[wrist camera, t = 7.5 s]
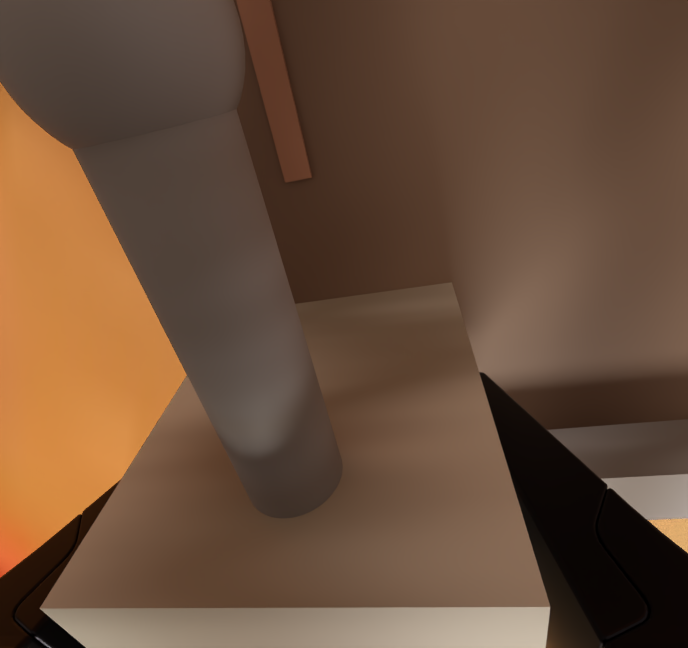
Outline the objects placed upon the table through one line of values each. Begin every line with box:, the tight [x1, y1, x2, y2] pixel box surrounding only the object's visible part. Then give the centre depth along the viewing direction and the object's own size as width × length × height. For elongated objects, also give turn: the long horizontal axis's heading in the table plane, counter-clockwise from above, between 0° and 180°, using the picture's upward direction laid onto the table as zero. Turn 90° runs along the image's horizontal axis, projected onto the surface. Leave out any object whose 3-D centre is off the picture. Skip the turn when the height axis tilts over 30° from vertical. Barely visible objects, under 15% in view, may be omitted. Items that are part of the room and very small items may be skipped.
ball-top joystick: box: [0, 0, 550, 648], centre depth 6 cm, size 5×9×6 cm, turn 12°
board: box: [234, 0, 688, 520], centre depth 8 cm, size 20×13×4 cm, turn 102°
